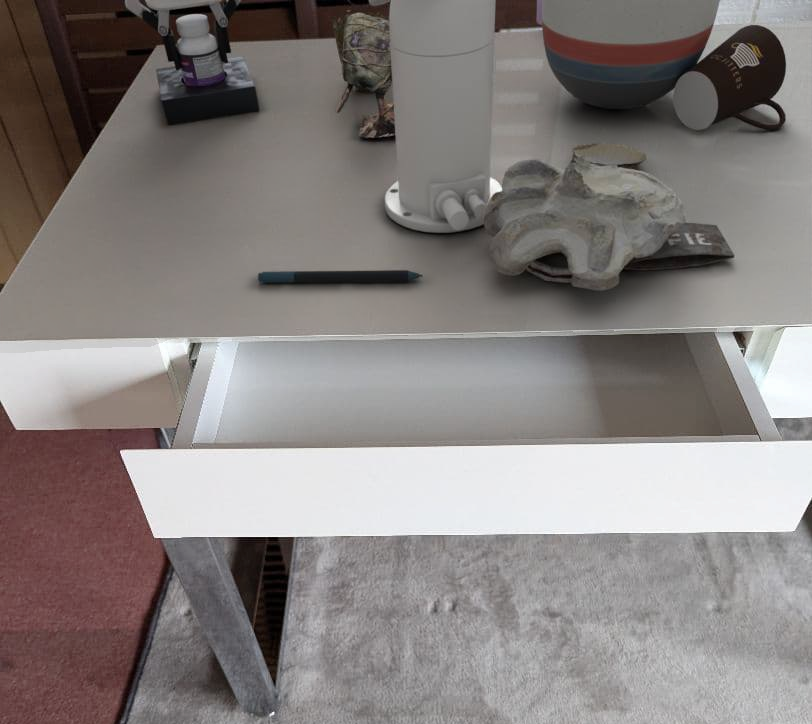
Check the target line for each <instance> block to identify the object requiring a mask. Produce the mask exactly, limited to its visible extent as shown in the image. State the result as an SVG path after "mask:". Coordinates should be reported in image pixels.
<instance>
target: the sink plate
mask: <svg viewBox="0 0 812 724" xmlns="http://www.w3.org/2000/svg"><path fill="white" fill-rule="evenodd" d="M227 59H228V63H224V62H222V64H223V69H224V74H225V79H224V80H222V81H220V82H217V83H214V84H211V85H204V86H190V85H185V82H184V78H183V74H182V70H181V69H180V70H176V68H175V65H174V66H169V67H161V68H157V69H155V71H156V77H157V83H158V89H159V95H160V101H161V105H162V109H163V112H164V116H165V120H166V124H167V126H171V125H177V124H183V123H190V122H196V121H204V120H210V119H215V118H223V117H228V116H234V115H240V114H247V113H254V112H259V111H260V105H259V100H258V93H257V88H256V85H255V81H254V80H253V77H252V75H251V73H250V70H249V67H248V64H247V63H246V59H245V57H244V56H236V57H230V58H227Z"/></svg>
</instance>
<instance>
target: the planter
mask: <svg viewBox="0 0 812 724" xmlns="http://www.w3.org/2000/svg"><path fill="white" fill-rule="evenodd" d="M720 2H721V0H542V25H541V26H542V27H541V28H542V38H543V46H544V51H545V56H546V59H547V63H548V65H549V69H550V70H551V72H552V74H553V75H554V77H555V78H556V79H557V81H558V82H559V83H560V85H562V87H563V88H564V89H565V90H566V91H567V92H568V93H569V94H570V95H572V96H573V97H574V98H575V99H578V100H579V101H581V102H582V103H584V104H588V105H589V106H593V107H596V108H601V109H607V110H626V109H634V108H639V107H643V106H646V105H649V104H651V103H653V102H655V101H658V100H660V99H661V98H663V97H665V96H666V95H668V94H669V93H670V92H672V91H674V89H675V85H676V83H677V81H678V80H679V78H680V77H681V76H682V75H683V74H685V73H686V72H687V71H688V70H690V69H691V68H692V67H693V66H695V65H696V64H697V63H698V62H700V59H701V57H702V55H703V54H704V51H705V49H706V47H707V44H708V42H709V39H710V37H711V34H712V31H713V28H714V24H715V21H716V18H717V13H718V9H719V6H720Z"/></svg>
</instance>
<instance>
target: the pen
mask: <svg viewBox="0 0 812 724" xmlns="http://www.w3.org/2000/svg"><path fill="white" fill-rule="evenodd" d="M423 276H424V275H423V274H420V273H418V272H414V271H411V270H408V269H395V270H393V269H391V270H390V269H385V270H379V269H378V270H301V271H300V270H296V271H295V270H293V271H292V270H289V271H287V270H284V271H283V270H282V271H281V270H280V271H262V272H259V273H258V274H257V279H258V281H259V282H260V283H264V284H279V283H280V284H281V283H284V284H285V283H287V284H289V283H290V284H292V283H293V284H295V283H297V284H299V283H389V282H390V283H393V282H394V283H396V282H397V283H398V282H411V281H413V280H414V281H415V280H417V279H420V278H422V277H423Z"/></svg>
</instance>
